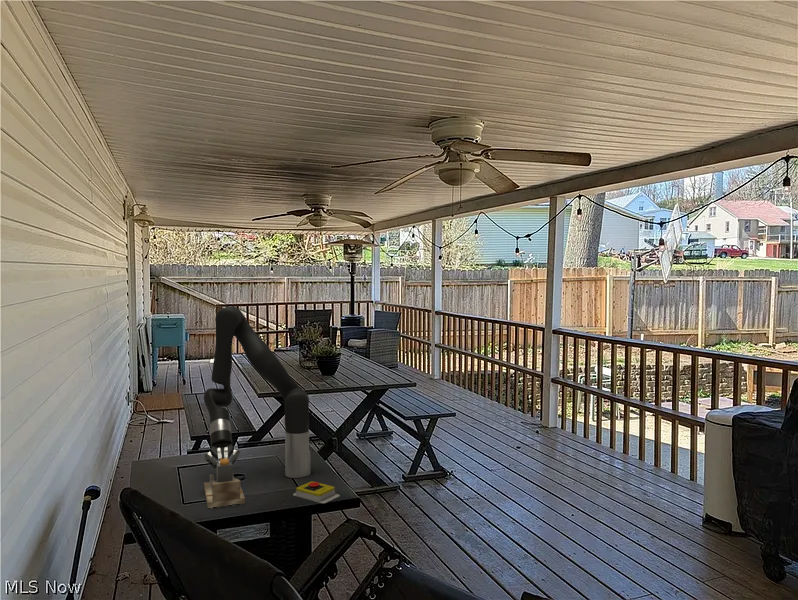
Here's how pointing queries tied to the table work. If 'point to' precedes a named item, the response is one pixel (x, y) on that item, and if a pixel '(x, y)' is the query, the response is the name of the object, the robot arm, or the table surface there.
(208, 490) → the track
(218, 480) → the orange-capped grey pillar
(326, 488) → the emergency button
